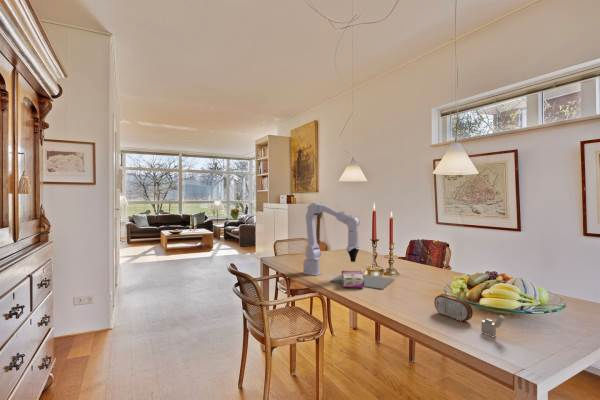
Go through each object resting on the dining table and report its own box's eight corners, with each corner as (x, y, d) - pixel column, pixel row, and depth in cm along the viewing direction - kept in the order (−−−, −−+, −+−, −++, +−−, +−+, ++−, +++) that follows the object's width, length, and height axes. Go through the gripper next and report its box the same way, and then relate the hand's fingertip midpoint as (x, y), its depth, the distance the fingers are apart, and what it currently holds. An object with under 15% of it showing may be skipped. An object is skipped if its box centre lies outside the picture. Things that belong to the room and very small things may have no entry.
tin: (473, 323, 121) (473, 301, 121) (468, 325, 120) (468, 302, 120) (437, 311, 134) (437, 291, 134) (433, 312, 133) (433, 292, 132)
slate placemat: (330, 281, 180) (330, 280, 180) (346, 273, 199) (346, 272, 199) (382, 289, 164) (382, 288, 164) (394, 279, 183) (394, 278, 183)
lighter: (481, 333, 113) (481, 310, 113) (483, 331, 114) (483, 309, 114) (502, 340, 107) (502, 317, 107) (505, 339, 108) (505, 316, 108)
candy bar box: (341, 279, 183) (342, 287, 167) (341, 270, 183) (342, 277, 167) (361, 279, 182) (364, 288, 166) (361, 270, 182) (364, 278, 166)
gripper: (354, 240, 176) (354, 264, 176) (364, 237, 188) (364, 260, 188) (343, 239, 179) (343, 263, 180) (353, 236, 192) (352, 258, 192)
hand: (353, 261), depth 184 cm, fingers closed
